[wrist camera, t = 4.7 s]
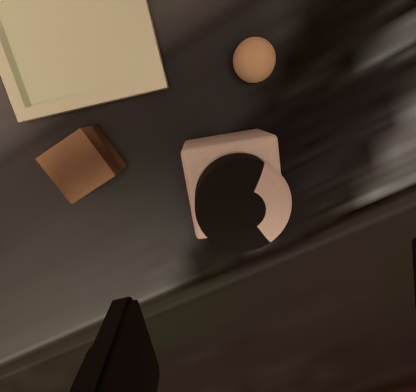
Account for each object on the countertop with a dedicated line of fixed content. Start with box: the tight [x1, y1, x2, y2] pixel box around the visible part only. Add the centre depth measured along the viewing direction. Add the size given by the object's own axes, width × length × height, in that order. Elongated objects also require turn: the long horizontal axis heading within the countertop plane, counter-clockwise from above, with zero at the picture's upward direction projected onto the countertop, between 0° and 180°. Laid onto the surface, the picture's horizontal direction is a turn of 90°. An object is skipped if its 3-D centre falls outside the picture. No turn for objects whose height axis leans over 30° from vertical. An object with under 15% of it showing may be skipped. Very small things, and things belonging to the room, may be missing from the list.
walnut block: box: [36, 125, 127, 204], centre depth 27 cm, size 4×4×4 cm
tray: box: [0, 0, 169, 122], centre depth 26 cm, size 13×13×2 cm
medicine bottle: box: [181, 129, 292, 251], centre depth 25 cm, size 7×7×12 cm
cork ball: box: [233, 37, 276, 83], centre depth 26 cm, size 4×4×4 cm
